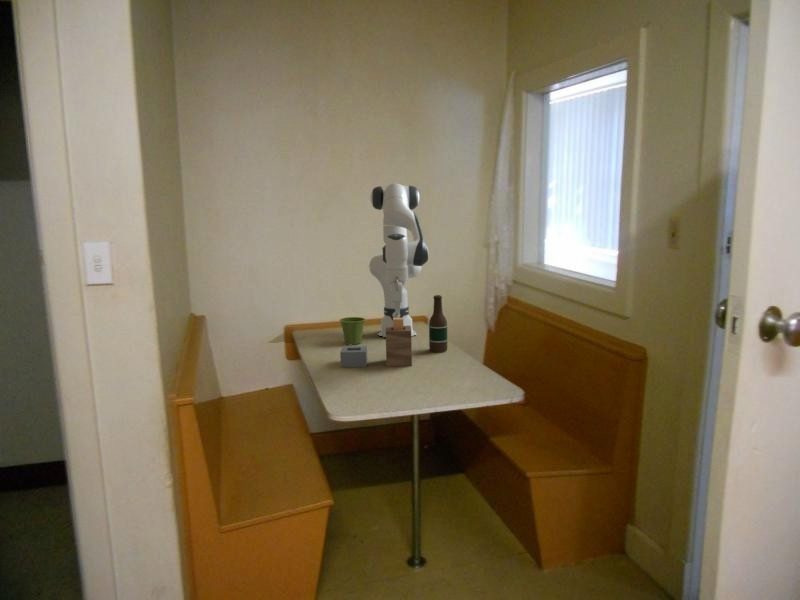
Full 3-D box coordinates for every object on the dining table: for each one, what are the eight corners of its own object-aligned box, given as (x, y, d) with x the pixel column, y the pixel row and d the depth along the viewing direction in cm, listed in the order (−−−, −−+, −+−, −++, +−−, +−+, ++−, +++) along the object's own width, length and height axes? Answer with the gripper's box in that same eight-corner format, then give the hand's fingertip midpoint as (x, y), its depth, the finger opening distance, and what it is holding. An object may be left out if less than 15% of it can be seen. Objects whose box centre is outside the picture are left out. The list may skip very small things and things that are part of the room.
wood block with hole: (387, 359, 245) (386, 326, 243) (411, 358, 245) (410, 325, 243) (386, 366, 235) (385, 331, 233) (411, 365, 235) (411, 330, 233)
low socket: (343, 360, 245) (342, 346, 244) (367, 360, 245) (367, 345, 244) (340, 367, 236) (340, 352, 235) (366, 366, 236) (365, 351, 235)
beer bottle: (438, 353, 253) (437, 297, 249) (425, 350, 259) (424, 295, 255) (451, 350, 258) (450, 295, 254) (438, 347, 264) (438, 293, 260)
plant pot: (363, 346, 268) (362, 322, 266) (337, 346, 270) (336, 321, 268) (368, 340, 280) (368, 316, 278) (344, 340, 282) (343, 316, 280)
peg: (393, 337, 240) (393, 318, 239) (403, 337, 240) (403, 317, 239) (393, 339, 237) (393, 319, 236) (403, 339, 237) (403, 319, 236)
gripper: (405, 278, 224) (406, 315, 226) (404, 273, 245) (405, 306, 247) (388, 279, 224) (389, 315, 226) (389, 273, 245) (390, 306, 247)
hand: (397, 310), depth 237 cm, fingers open, 8 cm apart
